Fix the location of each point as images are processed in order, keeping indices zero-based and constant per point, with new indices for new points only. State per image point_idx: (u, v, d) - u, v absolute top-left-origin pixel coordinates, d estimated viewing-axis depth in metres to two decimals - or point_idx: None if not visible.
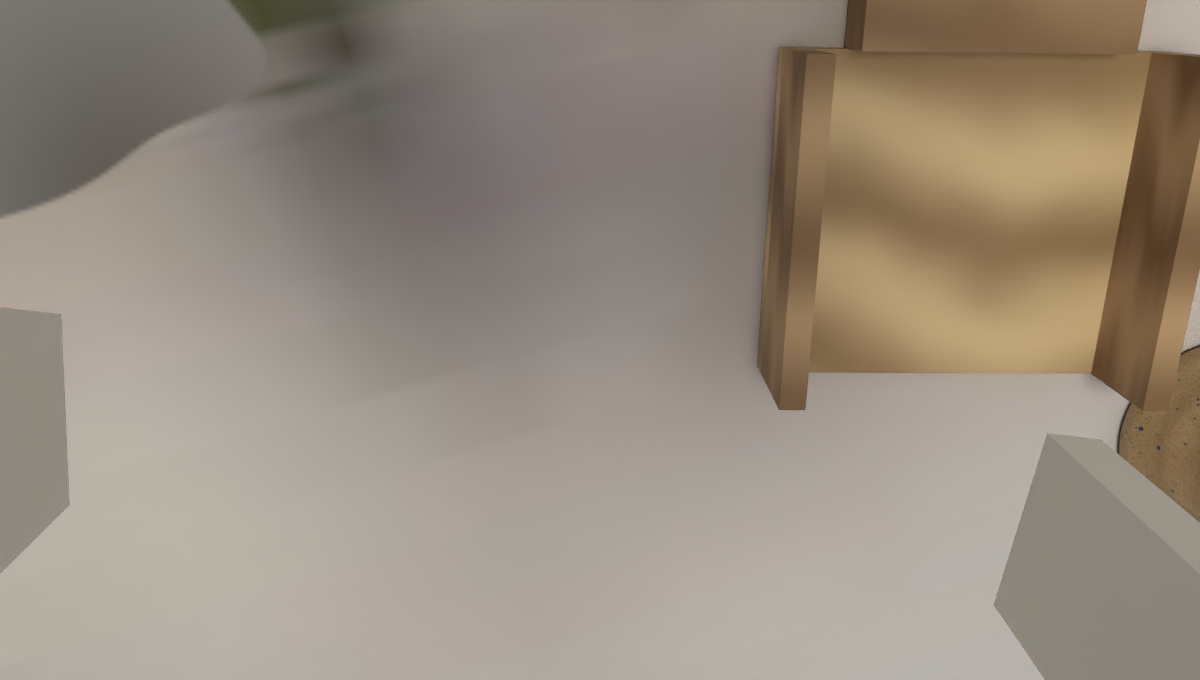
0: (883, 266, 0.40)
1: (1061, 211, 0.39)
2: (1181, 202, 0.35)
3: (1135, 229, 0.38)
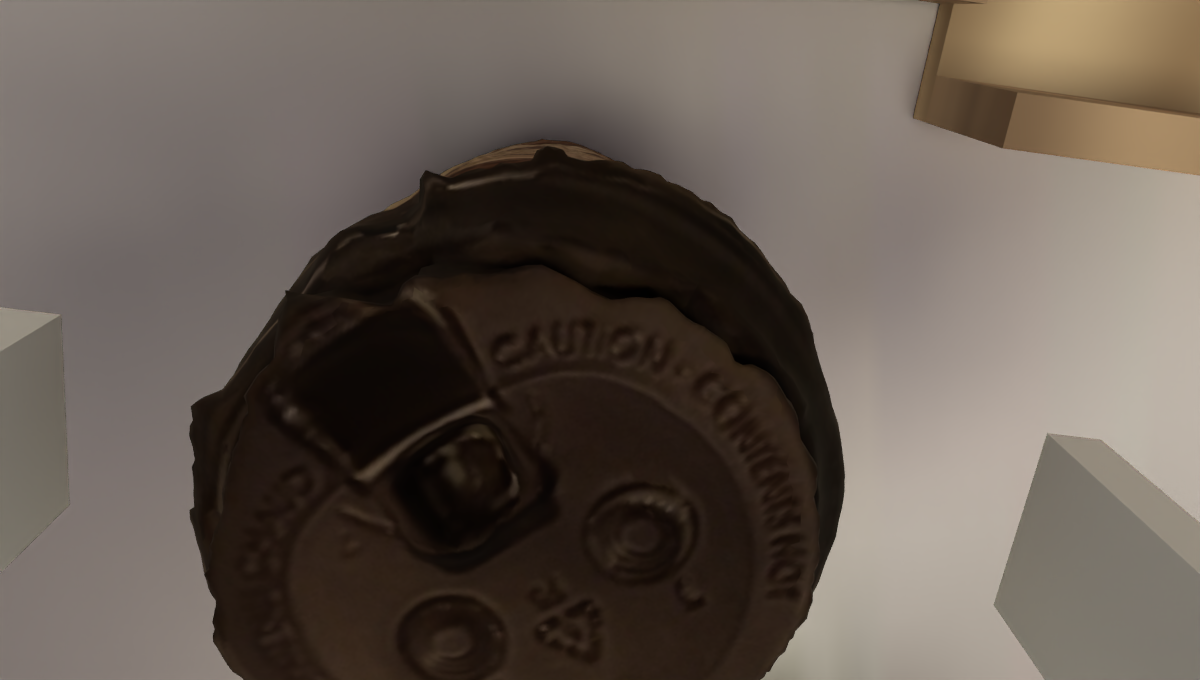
0: None
1: None
2: None
3: None
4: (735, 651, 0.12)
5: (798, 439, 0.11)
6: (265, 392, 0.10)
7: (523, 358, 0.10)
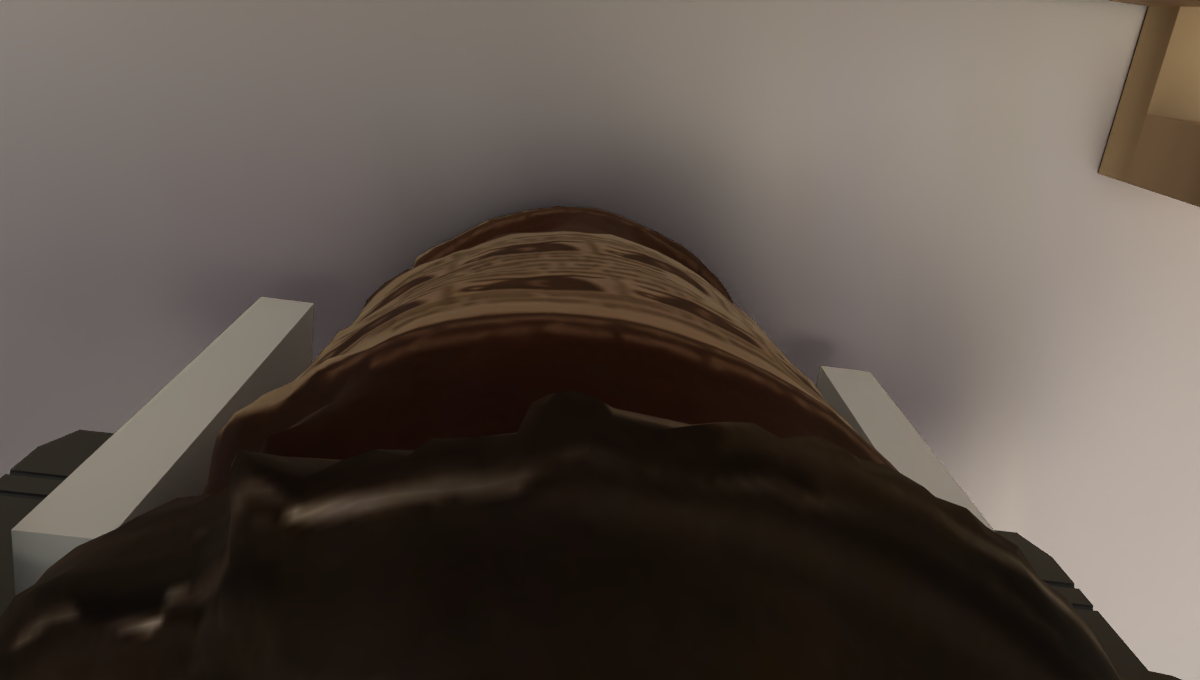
0: None
1: None
2: None
3: None
4: None
5: None
6: None
7: None
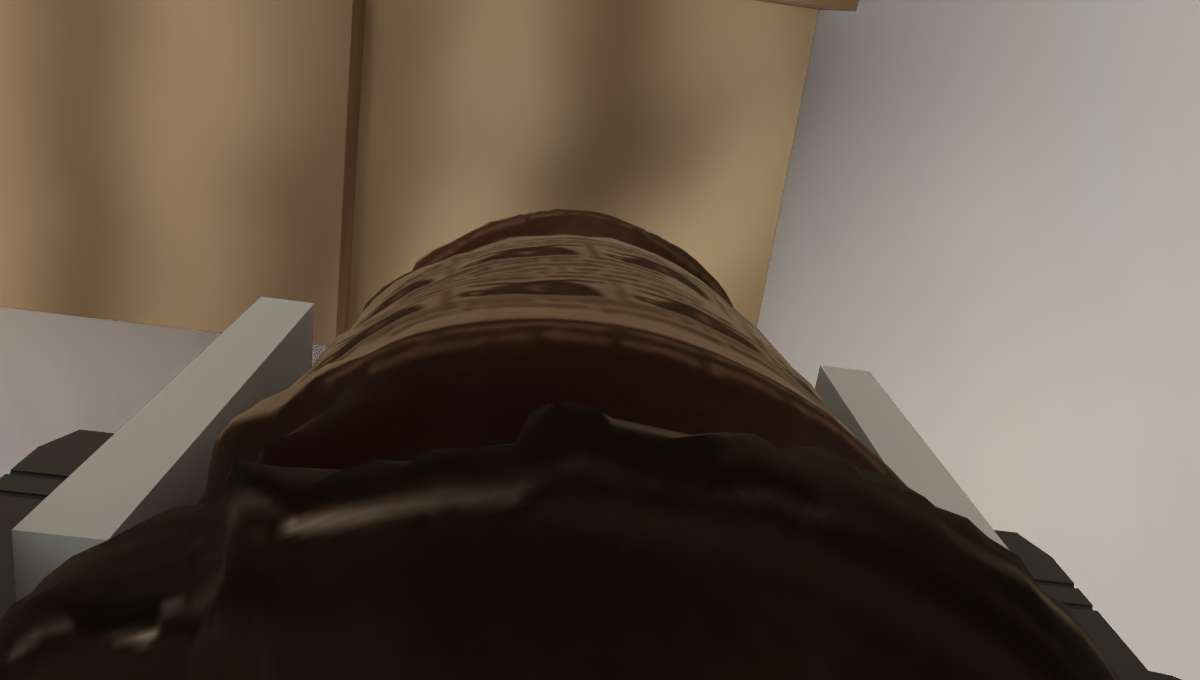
0: None
1: (573, 62, 0.29)
2: None
3: None
4: None
5: None
6: None
7: None
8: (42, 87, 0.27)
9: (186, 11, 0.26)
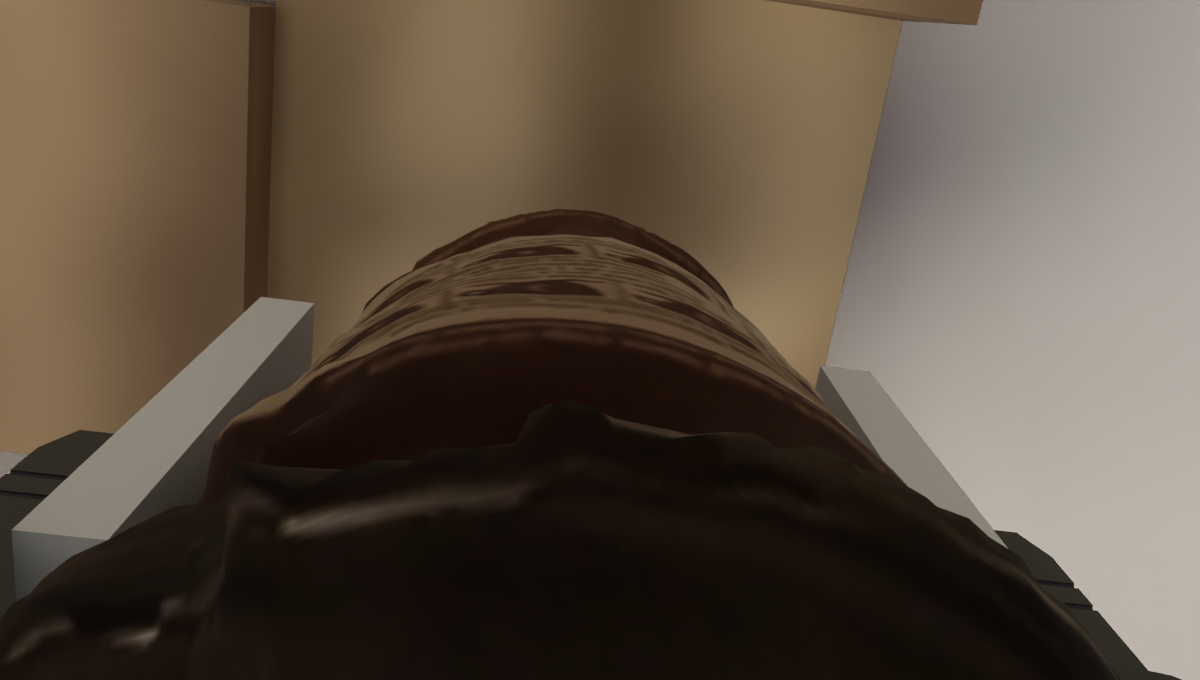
0: None
1: (563, 92, 0.21)
2: None
3: None
4: None
5: None
6: None
7: None
8: None
9: (12, 22, 0.19)
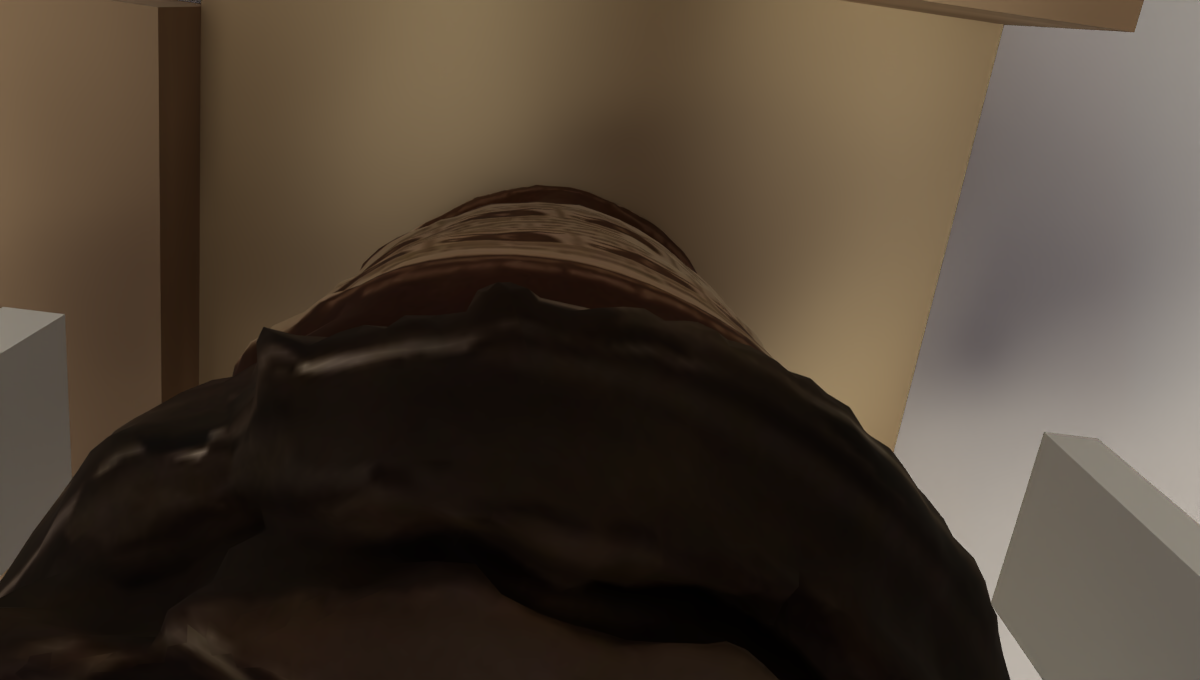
0: None
1: (569, 115, 0.16)
2: None
3: None
4: None
5: None
6: None
7: None
8: None
9: None
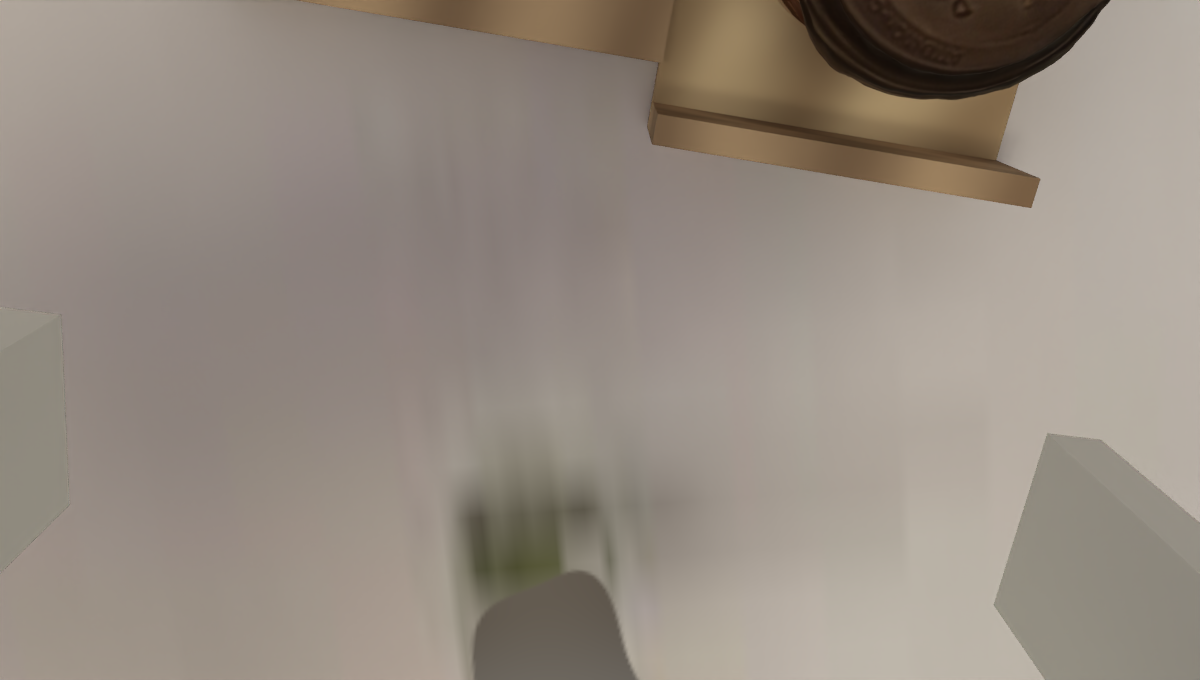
0: None
1: None
2: None
3: None
4: None
5: None
6: None
7: None
8: None
9: None
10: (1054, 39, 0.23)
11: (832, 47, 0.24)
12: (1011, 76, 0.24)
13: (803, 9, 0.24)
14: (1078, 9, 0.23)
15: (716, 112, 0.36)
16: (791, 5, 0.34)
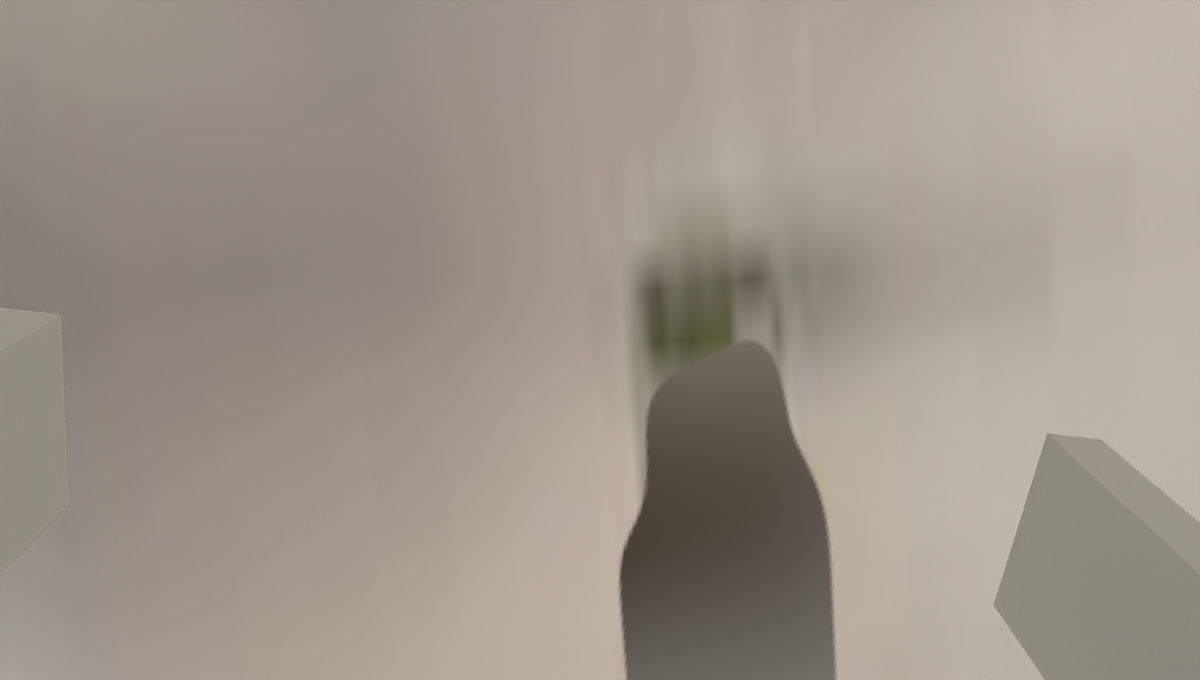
0: None
1: None
2: None
3: None
4: None
5: None
6: None
7: None
8: None
9: None
10: None
11: None
12: None
13: None
14: None
15: None
16: None
